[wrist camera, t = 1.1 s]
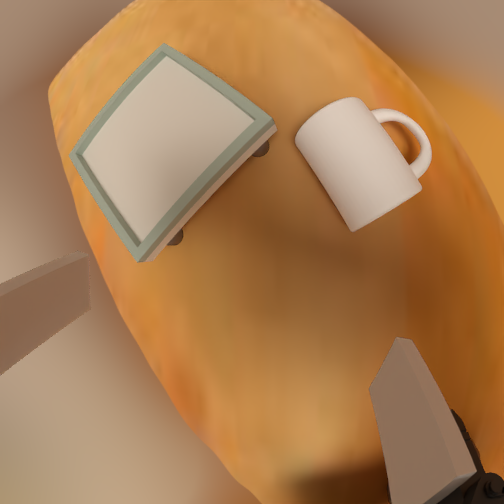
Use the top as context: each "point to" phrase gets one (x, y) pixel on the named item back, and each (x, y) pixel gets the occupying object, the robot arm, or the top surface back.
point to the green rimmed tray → (166, 148)
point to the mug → (361, 159)
